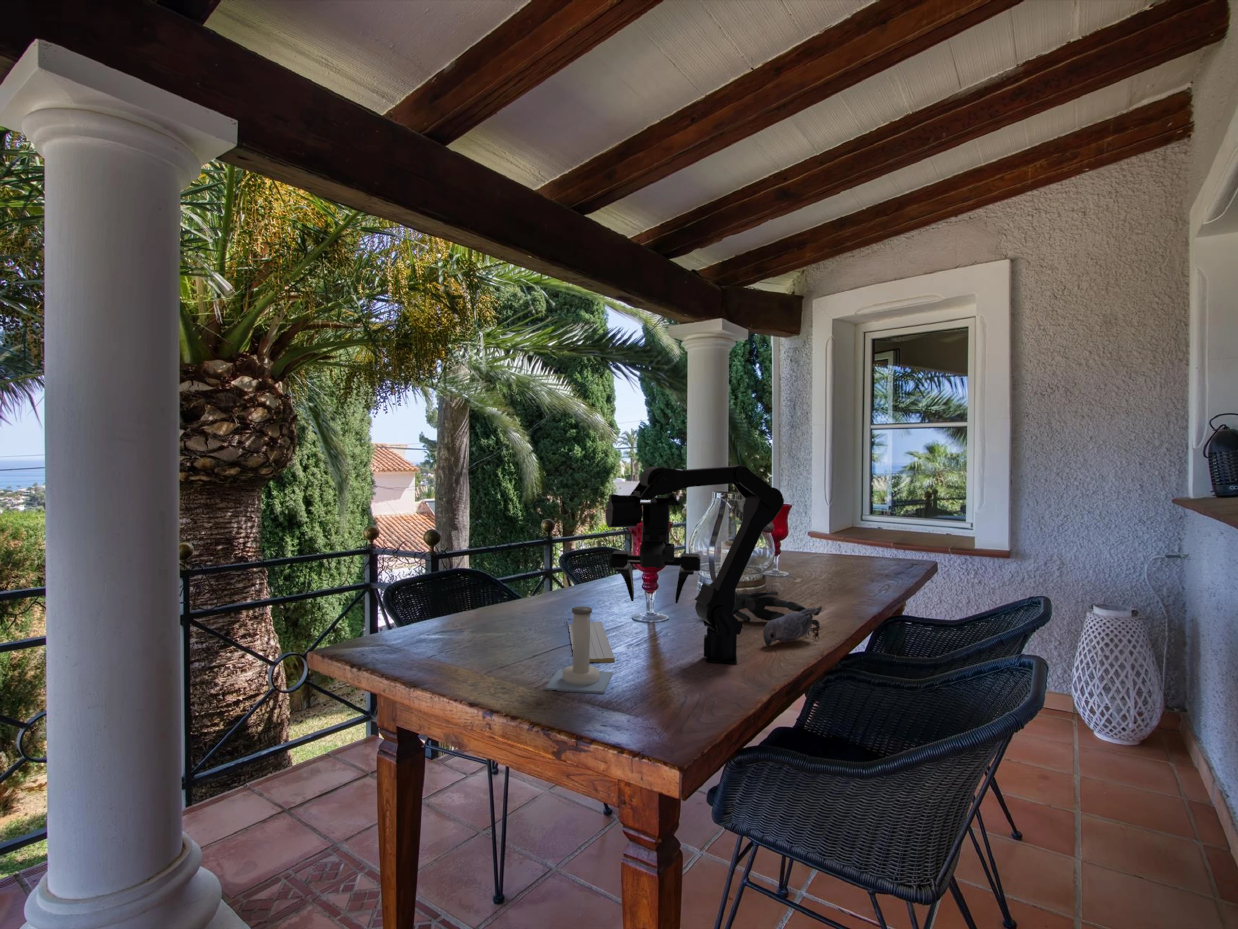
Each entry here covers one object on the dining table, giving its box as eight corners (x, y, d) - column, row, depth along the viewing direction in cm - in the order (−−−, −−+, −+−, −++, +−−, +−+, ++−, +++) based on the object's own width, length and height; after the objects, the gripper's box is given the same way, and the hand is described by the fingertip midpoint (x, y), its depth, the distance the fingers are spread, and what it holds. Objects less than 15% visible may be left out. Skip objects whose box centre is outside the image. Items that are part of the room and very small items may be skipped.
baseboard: (567, 666, 137) (614, 665, 138) (567, 652, 137) (615, 651, 138) (562, 628, 167) (601, 627, 168) (562, 617, 167) (601, 616, 168)
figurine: (821, 598, 165) (705, 579, 176) (817, 634, 164) (700, 612, 174) (823, 601, 176) (713, 582, 186) (819, 635, 174) (708, 614, 184)
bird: (757, 644, 153) (757, 612, 153) (805, 635, 161) (805, 605, 161) (774, 650, 148) (774, 617, 148) (822, 641, 157) (823, 609, 157)
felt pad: (612, 673, 131) (612, 671, 131) (604, 693, 120) (604, 691, 120) (558, 670, 132) (558, 668, 132) (545, 690, 121) (545, 688, 121)
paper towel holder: (605, 677, 128) (606, 607, 127) (586, 688, 121) (588, 615, 121) (575, 670, 131) (576, 602, 131) (555, 681, 125) (556, 610, 124)
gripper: (605, 529, 130) (603, 608, 130) (700, 533, 127) (698, 613, 128) (613, 524, 141) (612, 596, 141) (701, 527, 139) (699, 600, 139)
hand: (654, 601), depth 137 cm, fingers open, 9 cm apart
